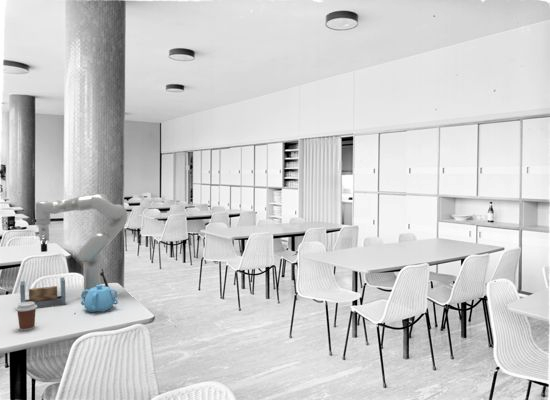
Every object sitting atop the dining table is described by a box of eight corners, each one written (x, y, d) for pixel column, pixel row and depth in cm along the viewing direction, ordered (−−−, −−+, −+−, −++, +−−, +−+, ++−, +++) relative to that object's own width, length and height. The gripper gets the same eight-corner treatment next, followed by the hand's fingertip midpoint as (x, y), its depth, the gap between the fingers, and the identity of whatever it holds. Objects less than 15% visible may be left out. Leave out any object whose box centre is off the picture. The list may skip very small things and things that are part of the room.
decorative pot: (79, 309, 245) (78, 285, 244) (107, 303, 256) (107, 280, 255) (90, 316, 233) (89, 290, 232) (120, 309, 244) (119, 285, 243)
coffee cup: (35, 323, 221) (34, 299, 220) (39, 328, 214) (39, 303, 214) (14, 327, 215) (13, 303, 214) (18, 332, 208) (17, 307, 208)
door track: (64, 300, 260) (64, 277, 259) (65, 304, 252) (65, 280, 251) (21, 306, 250) (20, 281, 249) (21, 310, 242) (20, 285, 241)
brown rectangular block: (57, 301, 256) (56, 286, 255) (57, 302, 253) (57, 287, 252) (29, 304, 249) (28, 288, 248) (29, 306, 246) (28, 290, 246)
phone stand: (108, 285, 295) (108, 268, 294) (108, 288, 290) (108, 269, 289) (93, 287, 292) (93, 269, 291) (93, 289, 286) (93, 271, 285)
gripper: (50, 223, 260) (51, 252, 261) (49, 220, 275) (50, 247, 276) (36, 223, 257) (37, 253, 258) (36, 220, 272) (37, 248, 273)
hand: (44, 250), depth 267 cm, fingers open, 9 cm apart
